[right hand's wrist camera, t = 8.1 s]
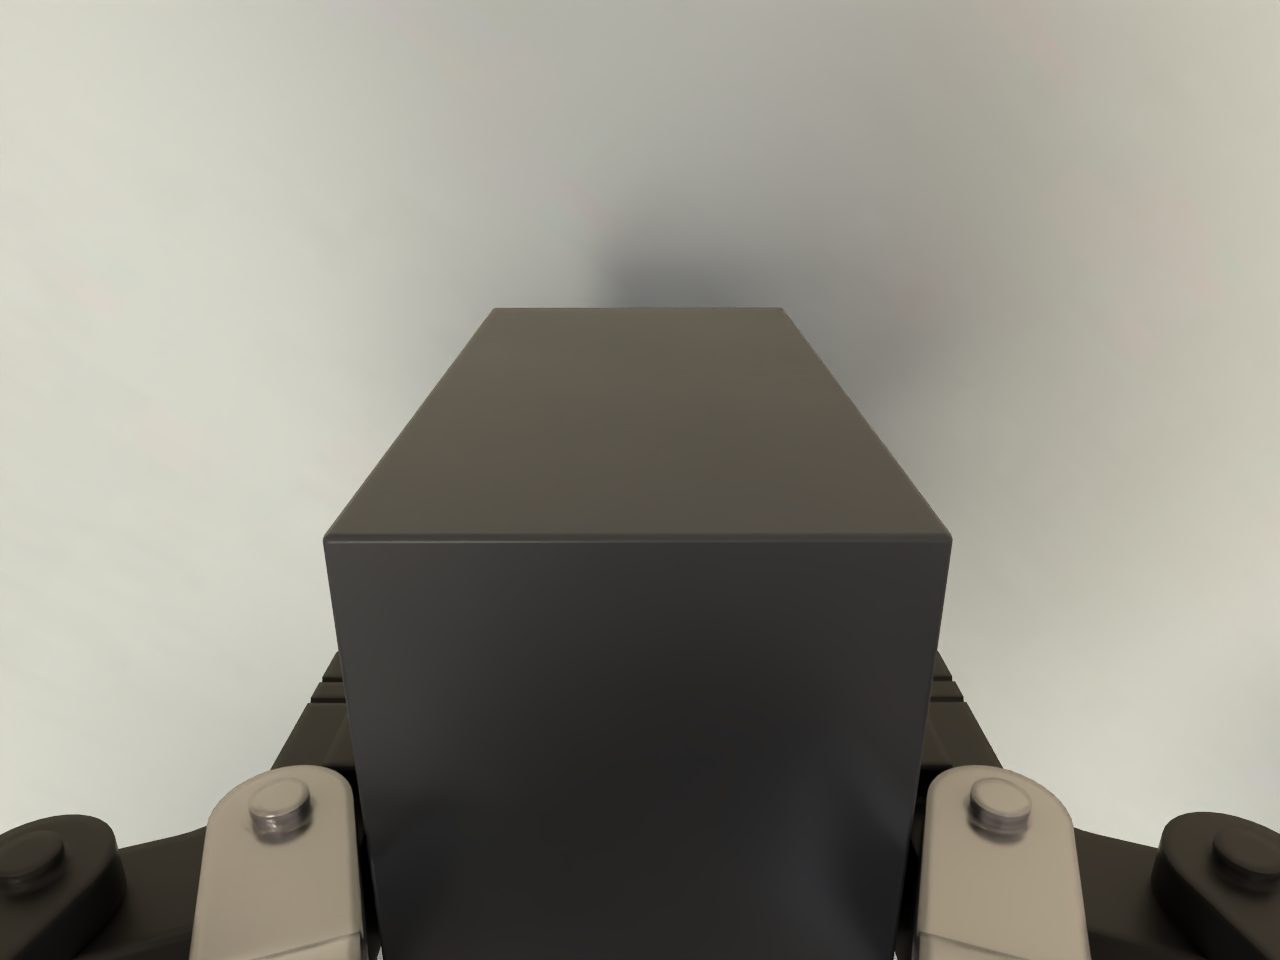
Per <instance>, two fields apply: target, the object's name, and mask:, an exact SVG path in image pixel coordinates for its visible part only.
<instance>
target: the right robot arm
mask: <svg viewBox="0 0 1280 960" xmlns="http://www.w3.org/2000/svg"><path fill="white" fill-rule="evenodd" d="M380 947H381V941H380V934H379V927H378V920H377V913H376V906H375V899H374V892H373V885H372V879H371V872H370V865H369V858H368V851H367V844H366V837H365V830H364V823H363V816H362V809H361V802H360V795H359V788H358V781H357V774H356V767H355V761H354V754H353V747H352V740H351V733H350V726H349V719H348V712H347V705H346V698H345V691H344V684H343V677H342V670H341V663H340V656H339V651H338V652H337V653H336V654H335V656H334V658H333V659H332V661H331V663H330V665H329V667H328V668H327V670H326V672H325V674H324V675H323V677H322V682H320V683H319V684H318V686H317V688H316V690H315V691H314V693H313V695H312V697H311V703H308V704H307V706H306V707H305V709H304V711H303V713H302V715H301V716H300V718H299V720H298V722H297V723H296V725H295V727H294V729H293V731H292V732H291V734H290V736H289V738H288V739H287V741H286V743H285V745H284V746H283V748H282V750H281V752H280V754H279V755H278V757H277V759H276V761H275V762H274V764H273V766H272V768H271V770H270V771H267V772H265V773H262V774H259V775H257V776H255V777H253V778H251V779H248V780H247V781H245V782H243V783H242V784H240V785H238V786H237V787H235V788H234V789H233V790H231V791H230V792H229V793H228V794H227V795H226V796H225V797H223V798H222V799H221V800H220V801H219V803H218V804H217V805H216V807H215V808H214V809H213V811H212V813H211V815H210V817H209V820H208V823H207V826H205V827H203V828H200V829H197V830H194V831H192V832H189V833H185V834H181V835H178V836H174V837H169V838H165V839H161V840H156V841H152V842H148V843H143V844H139V845H134V846H130V847H126V848H121V849H118V846H117V843H116V839H115V836H114V833H113V831H112V829H111V828H110V827H109V825H108V824H107V823H105V822H103V821H102V820H100V819H98V818H95V817H92V816H86V815H60V816H53V817H48V818H44V819H39V820H36V821H33V822H30V823H26V824H24V825H21V826H19V827H16V828H14V829H11V830H9V831H7V832H5V833H3V834H1V835H0V960H377V956H378V953H379V950H380ZM895 953H896V956H897V959H898V960H1280V834H1279V833H1277V832H1275V831H1273V830H1271V829H1269V828H1267V827H1265V826H1262V825H1260V824H1257V823H1255V822H1252V821H1249V820H1246V819H1243V818H1239V817H1236V816H1232V815H1227V814H1222V813H1214V812H1194V813H1187V814H1183V815H1180V816H1177V817H1176V818H1174V819H1172V820H1171V821H1170V822H1169V823H1168V824H1167V825H1166V826H1165V828H1164V830H1163V833H1162V836H1161V840H1160V843H1159V847H1158V848H1154V847H1150V846H1145V845H1141V844H1137V843H1132V842H1128V841H1123V840H1119V839H1115V838H1110V837H1106V836H1102V835H1097V834H1094V833H1090V832H1086V831H1083V830H1080V829H1077V828H1074V827H1073V824H1072V820H1071V817H1070V815H1069V813H1068V811H1067V809H1066V808H1065V807H1064V805H1063V804H1062V803H1061V801H1060V800H1059V799H1058V798H1056V797H1055V796H1054V795H1053V794H1052V793H1051V792H1050V791H1048V790H1047V789H1046V788H1045V787H1043V786H1042V785H1040V784H1038V783H1037V782H1035V781H1033V780H1032V779H1029V778H1027V777H1025V776H1023V775H1021V774H1018V773H1015V772H1013V771H1010V770H1006V769H1003V767H1002V765H1001V764H1000V762H999V760H998V758H997V756H996V755H995V753H994V751H993V749H992V747H991V746H990V744H989V742H988V740H987V738H986V737H985V735H984V733H983V731H982V729H981V728H980V726H979V724H978V722H977V720H976V719H975V717H974V715H973V713H972V711H971V710H970V708H969V706H968V704H967V702H964V700H963V695H962V693H961V692H960V690H959V688H958V686H957V684H956V683H955V681H952V675H951V674H950V672H949V670H948V668H947V666H946V665H945V663H944V661H943V659H942V657H941V656H940V654H939V652H938V651H937V654H936V661H935V668H934V675H933V682H932V689H931V696H930V704H929V711H928V718H927V725H926V732H925V739H924V746H923V753H922V760H921V767H920V775H919V782H918V789H917V796H916V803H915V810H914V817H913V824H912V831H911V838H910V845H909V853H908V860H907V867H906V874H905V881H904V888H903V895H902V902H901V909H900V916H899V924H898V931H897V938H896V945H895Z"/></svg>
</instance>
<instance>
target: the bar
mask: <svg viewBox="0 0 1280 960" xmlns="http://www.w3.org/2000/svg"><path fill="white" fill-rule="evenodd" d="M952 540H953V539H952V536H951V534H950V532H949V531H948V530H947V528H946V527H945V526H944V524H943V523H942V522H941V520H940V519H939V518H938V516H937V515H936V514H935V512H934V511H933V510H932V508H931V507H930V506H929V504H928V503H927V502H926V500H925V499H924V498H923V496H922V495H921V494H920V492H919V491H918V490H917V488H916V487H915V486H914V484H913V483H912V482H911V480H910V479H909V478H908V476H907V475H906V474H905V472H904V471H903V469H902V468H901V467H900V465H899V464H898V463H897V461H896V460H895V459H894V457H893V456H892V455H891V453H890V452H889V451H888V449H887V448H886V447H885V445H884V444H883V443H882V441H881V440H880V439H879V437H878V436H877V435H876V433H875V432H874V431H873V429H872V428H871V427H870V425H869V424H868V423H867V421H866V420H865V419H864V417H863V416H862V415H861V413H860V412H859V411H858V409H857V408H856V407H855V405H854V404H853V403H852V401H851V400H850V399H849V397H848V396H847V394H846V393H845V392H844V390H843V389H842V388H841V386H840V385H839V384H838V382H837V381H836V380H835V378H834V377H833V376H832V374H831V373H830V372H829V370H828V369H827V368H826V366H825V365H824V364H823V362H822V361H821V360H820V358H819V357H818V356H817V354H816V353H815V352H814V350H813V349H812V348H811V346H810V345H809V344H808V342H807V341H806V340H805V338H804V337H803V336H802V334H801V333H800V332H799V330H798V329H797V328H796V326H795V325H794V323H793V322H792V321H791V319H790V318H789V317H788V315H787V314H786V313H785V311H784V310H783V309H782V308H495V309H493V310H492V311H491V313H490V314H489V315H488V317H487V318H486V319H485V321H484V322H483V323H482V325H481V326H480V327H479V329H478V330H477V331H476V333H475V334H474V335H473V337H472V338H471V339H470V341H469V342H468V343H467V345H466V346H465V348H464V349H463V350H462V352H461V353H460V354H459V356H458V357H457V358H456V360H455V361H454V362H453V364H452V365H451V366H450V368H449V369H448V370H447V372H446V373H445V374H444V376H443V377H442V378H441V380H440V381H439V382H438V384H437V385H436V386H435V388H434V389H433V390H432V392H431V393H430V394H429V396H428V397H427V398H426V400H425V401H424V402H423V404H422V405H421V406H420V408H419V409H418V410H417V412H416V413H415V415H414V416H413V417H412V419H411V420H410V421H409V423H408V424H407V425H406V427H405V428H404V429H403V431H402V432H401V433H400V435H399V436H398V437H397V439H396V440H395V441H394V443H393V444H392V445H391V447H390V448H389V449H388V451H387V452H386V453H385V455H384V456H383V457H382V459H381V460H380V461H379V463H378V464H377V465H376V467H375V468H374V469H373V471H372V472H371V473H370V475H369V476H368V477H367V479H366V480H365V482H364V483H363V484H362V486H361V487H360V488H359V490H358V491H357V492H356V494H355V495H354V496H353V498H352V499H351V500H350V502H349V503H348V504H347V506H346V507H345V508H344V510H343V511H342V512H341V514H340V515H339V516H338V518H337V519H336V520H335V522H334V523H333V524H332V526H331V527H330V528H329V530H328V531H327V532H326V534H325V535H324V538H323V545H324V552H325V559H326V566H327V573H328V580H329V587H330V594H331V601H332V608H333V615H334V622H335V629H336V636H337V643H338V650H339V656H340V663H341V670H342V677H343V684H344V691H345V698H346V705H347V712H348V719H349V726H350V733H351V740H352V747H353V754H354V761H355V767H356V774H357V781H358V788H359V795H360V802H361V809H362V816H363V823H364V830H365V837H366V844H367V851H368V858H369V865H370V872H371V879H372V885H373V892H374V899H375V906H376V913H377V920H378V927H379V934H380V941H381V948H382V955H383V960H893V959H894V952H895V945H896V938H897V931H898V924H899V916H900V909H901V902H902V895H903V888H904V881H905V874H906V867H907V860H908V853H909V845H910V838H911V831H912V824H913V817H914V810H915V803H916V796H917V789H918V782H919V775H920V767H921V760H922V753H923V746H924V739H925V732H926V725H927V718H928V711H929V704H930V696H931V689H932V682H933V675H934V668H935V661H936V654H937V647H938V640H939V633H940V626H941V618H942V611H943V604H944V597H945V590H946V583H947V576H948V569H949V562H950V555H951V547H952Z"/></svg>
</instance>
